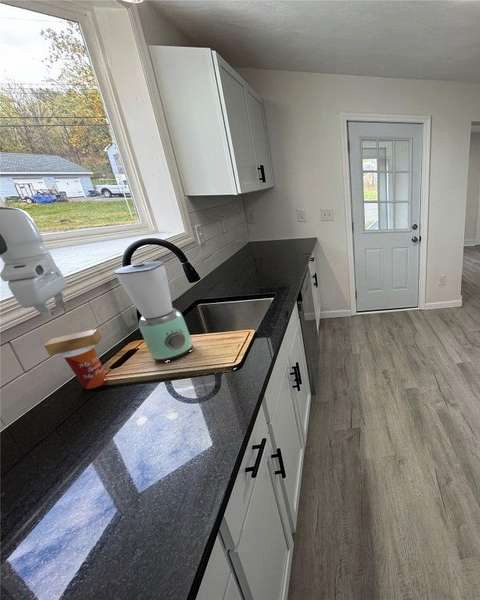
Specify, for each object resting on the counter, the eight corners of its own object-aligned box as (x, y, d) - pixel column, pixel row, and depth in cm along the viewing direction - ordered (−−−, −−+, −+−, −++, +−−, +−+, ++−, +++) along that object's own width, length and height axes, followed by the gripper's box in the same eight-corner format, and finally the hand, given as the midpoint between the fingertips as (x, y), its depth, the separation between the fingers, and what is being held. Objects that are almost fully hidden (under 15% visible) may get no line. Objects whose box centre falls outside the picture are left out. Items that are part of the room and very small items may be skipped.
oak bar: (49, 355, 93) (43, 345, 92) (56, 348, 97) (50, 338, 96) (97, 344, 98) (92, 334, 96) (101, 338, 102) (97, 328, 100)
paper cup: (96, 390, 99) (76, 352, 93) (73, 391, 99) (51, 354, 94) (117, 375, 106) (99, 339, 101) (95, 376, 106) (76, 340, 101)
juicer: (204, 350, 118) (172, 260, 105) (165, 369, 108) (124, 272, 94) (180, 339, 128) (147, 256, 114) (141, 356, 117) (101, 266, 104)
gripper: (33, 260, 94) (55, 302, 99) (-5, 277, 78) (24, 326, 83) (61, 257, 97) (81, 298, 102) (30, 272, 80) (56, 320, 86)
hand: (55, 311), depth 92 cm, fingers open, 8 cm apart
